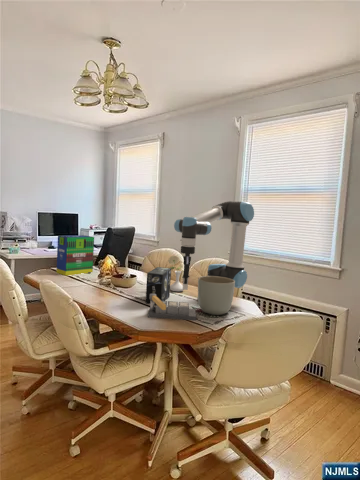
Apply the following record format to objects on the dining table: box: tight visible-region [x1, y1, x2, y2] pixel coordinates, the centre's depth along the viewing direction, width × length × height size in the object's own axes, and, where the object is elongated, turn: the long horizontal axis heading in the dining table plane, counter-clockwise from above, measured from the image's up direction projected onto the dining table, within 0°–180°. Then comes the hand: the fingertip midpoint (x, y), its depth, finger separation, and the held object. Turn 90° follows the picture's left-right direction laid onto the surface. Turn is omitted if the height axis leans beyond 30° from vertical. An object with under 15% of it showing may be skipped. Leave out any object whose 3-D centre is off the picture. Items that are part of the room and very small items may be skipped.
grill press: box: [147, 300, 197, 321], centre depth 185 cm, size 25×14×7 cm, turn 91°
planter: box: [197, 275, 235, 316], centre depth 195 cm, size 21×21×19 cm
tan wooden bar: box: [149, 294, 166, 310], centre depth 175 cm, size 22×4×2 cm, turn 20°
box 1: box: [56, 234, 95, 276], centre depth 280 cm, size 25×14×30 cm, turn 140°
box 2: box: [145, 266, 172, 306], centre depth 213 cm, size 23×10×19 cm, turn 168°
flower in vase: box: [167, 255, 184, 292], centre depth 241 cm, size 13×11×25 cm
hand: (184, 289), depth 184 cm, fingers closed
